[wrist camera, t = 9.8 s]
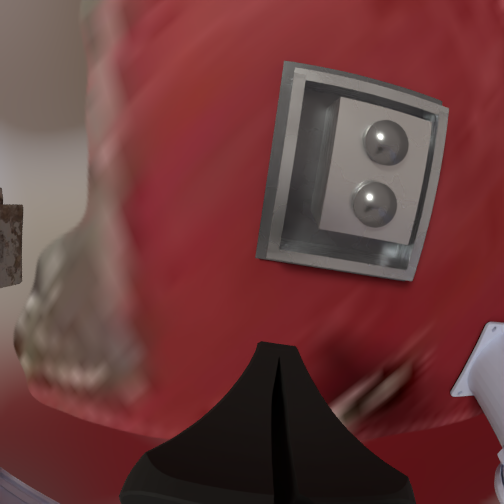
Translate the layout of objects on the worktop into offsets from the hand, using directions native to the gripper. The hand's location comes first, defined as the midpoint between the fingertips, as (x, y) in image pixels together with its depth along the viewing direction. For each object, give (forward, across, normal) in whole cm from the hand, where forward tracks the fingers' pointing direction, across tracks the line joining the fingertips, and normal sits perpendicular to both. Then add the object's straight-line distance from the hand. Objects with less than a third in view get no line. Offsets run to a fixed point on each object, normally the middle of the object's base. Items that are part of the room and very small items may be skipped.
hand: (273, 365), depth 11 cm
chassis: (+10, -4, -6) cm, 12 cm away
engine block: (+9, -4, -7) cm, 12 cm away
